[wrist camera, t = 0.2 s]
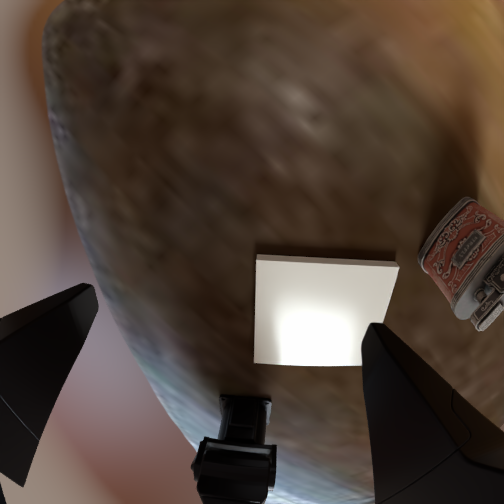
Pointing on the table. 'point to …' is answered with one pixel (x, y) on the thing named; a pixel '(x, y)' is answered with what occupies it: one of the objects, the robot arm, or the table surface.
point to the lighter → (468, 261)
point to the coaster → (318, 308)
